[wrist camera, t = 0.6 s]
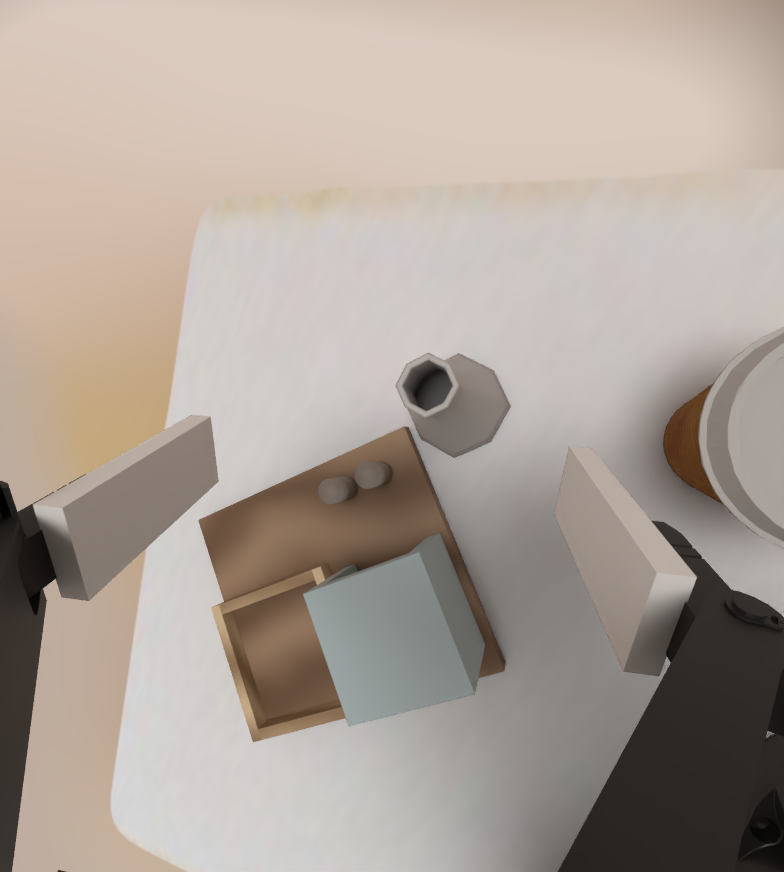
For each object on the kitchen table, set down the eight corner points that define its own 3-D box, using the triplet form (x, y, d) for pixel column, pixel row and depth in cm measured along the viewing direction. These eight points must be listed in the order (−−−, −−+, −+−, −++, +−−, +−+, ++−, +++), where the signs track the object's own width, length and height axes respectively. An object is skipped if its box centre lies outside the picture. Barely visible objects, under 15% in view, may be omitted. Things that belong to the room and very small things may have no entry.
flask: (529, 406, 30) (531, 385, 20) (454, 474, 31) (422, 484, 22) (459, 337, 31) (430, 286, 22) (391, 404, 33) (336, 385, 23)
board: (505, 662, 29) (501, 695, 25) (271, 725, 35) (238, 761, 31) (408, 427, 32) (392, 423, 28) (205, 519, 38) (167, 527, 34)
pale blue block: (485, 644, 29) (474, 694, 23) (382, 673, 31) (348, 726, 25) (439, 532, 30) (418, 552, 24) (344, 567, 32) (302, 594, 26)
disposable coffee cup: (730, 553, 26) (894, 633, 14) (601, 448, 28) (654, 446, 17) (860, 436, 24) (1162, 423, 13) (711, 336, 27) (853, 248, 15)
